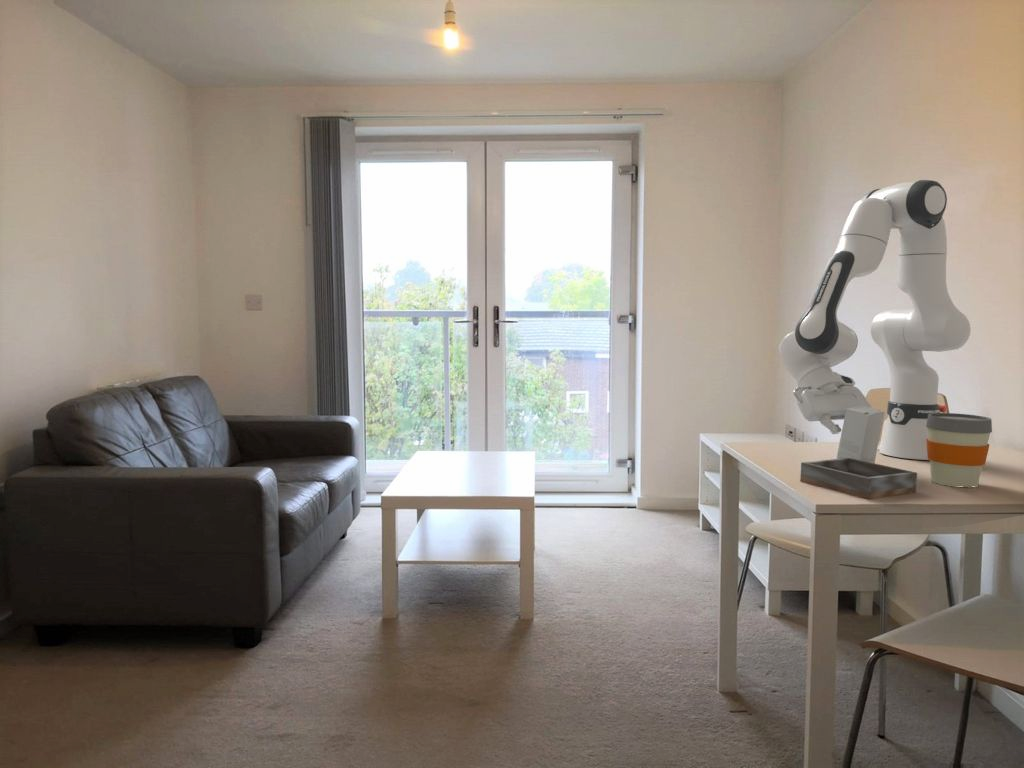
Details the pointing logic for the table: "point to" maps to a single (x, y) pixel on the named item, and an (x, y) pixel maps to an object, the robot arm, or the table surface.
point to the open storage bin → (858, 477)
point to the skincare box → (861, 433)
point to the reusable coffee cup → (957, 447)
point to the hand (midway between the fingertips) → (851, 431)
